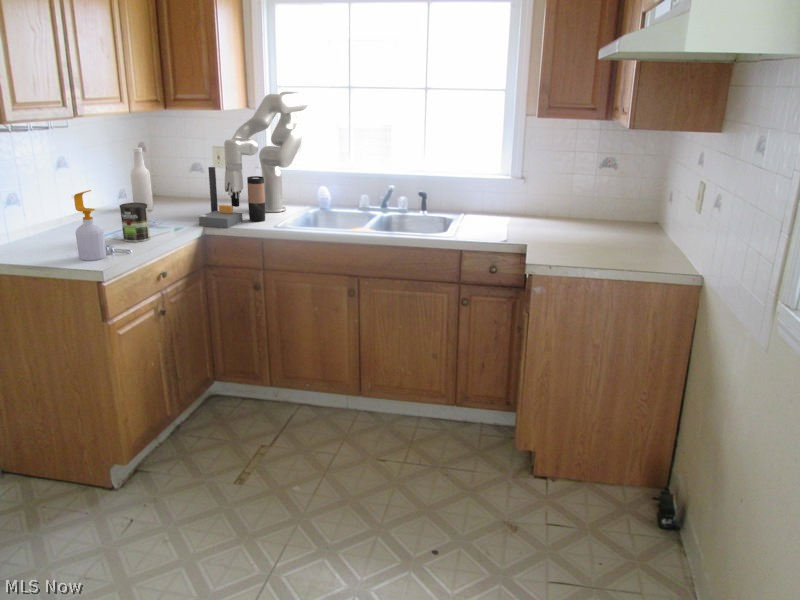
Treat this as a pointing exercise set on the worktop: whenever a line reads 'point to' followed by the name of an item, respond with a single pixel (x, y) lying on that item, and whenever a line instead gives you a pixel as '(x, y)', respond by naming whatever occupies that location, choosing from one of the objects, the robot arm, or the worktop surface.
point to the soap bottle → (89, 234)
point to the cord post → (213, 189)
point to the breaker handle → (225, 209)
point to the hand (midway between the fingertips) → (235, 206)
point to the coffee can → (135, 222)
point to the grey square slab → (220, 219)
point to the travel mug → (256, 198)
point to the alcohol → (141, 181)
